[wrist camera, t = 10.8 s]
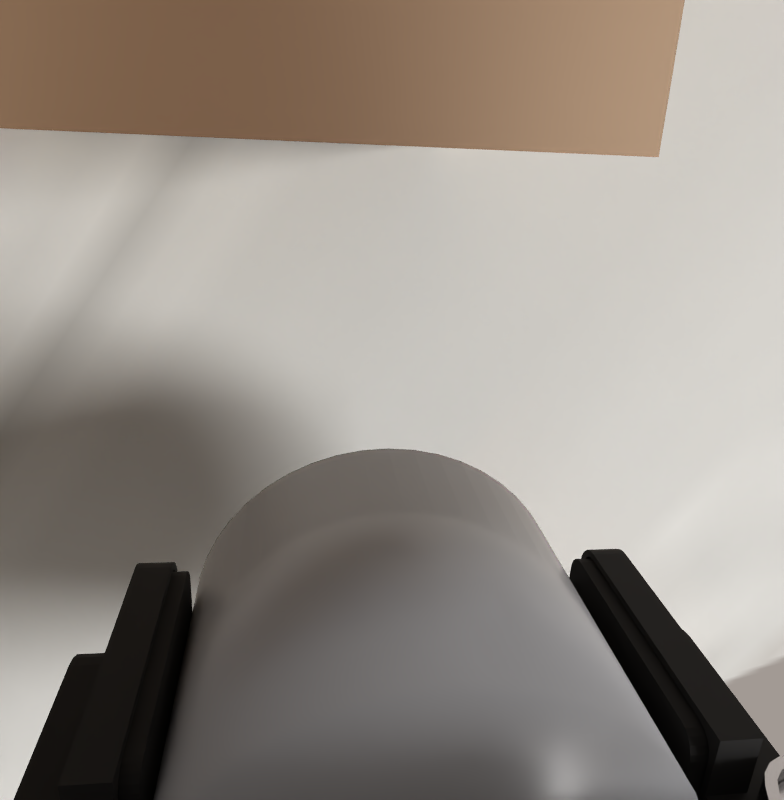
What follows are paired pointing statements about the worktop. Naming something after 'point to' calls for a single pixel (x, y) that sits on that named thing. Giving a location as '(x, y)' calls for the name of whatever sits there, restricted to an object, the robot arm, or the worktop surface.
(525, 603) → the grey knob post
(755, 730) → the robot arm
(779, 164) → the worktop surface
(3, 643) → the worktop surface
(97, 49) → the lid
